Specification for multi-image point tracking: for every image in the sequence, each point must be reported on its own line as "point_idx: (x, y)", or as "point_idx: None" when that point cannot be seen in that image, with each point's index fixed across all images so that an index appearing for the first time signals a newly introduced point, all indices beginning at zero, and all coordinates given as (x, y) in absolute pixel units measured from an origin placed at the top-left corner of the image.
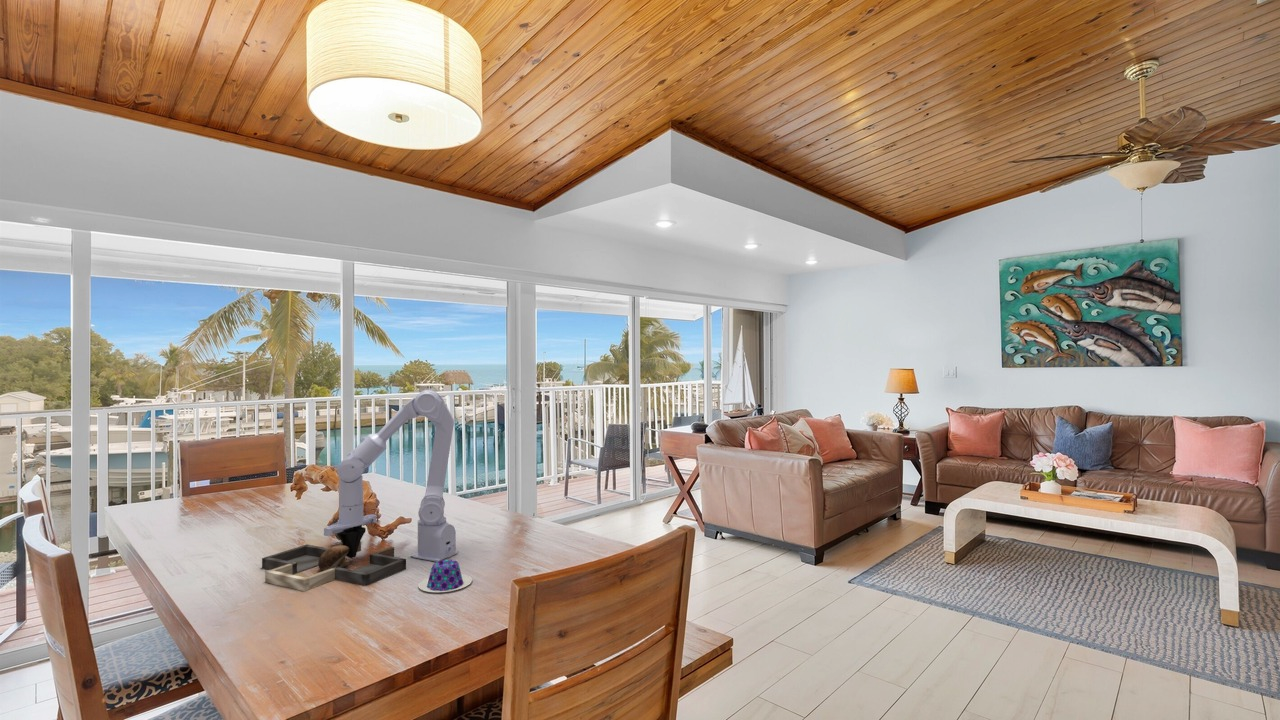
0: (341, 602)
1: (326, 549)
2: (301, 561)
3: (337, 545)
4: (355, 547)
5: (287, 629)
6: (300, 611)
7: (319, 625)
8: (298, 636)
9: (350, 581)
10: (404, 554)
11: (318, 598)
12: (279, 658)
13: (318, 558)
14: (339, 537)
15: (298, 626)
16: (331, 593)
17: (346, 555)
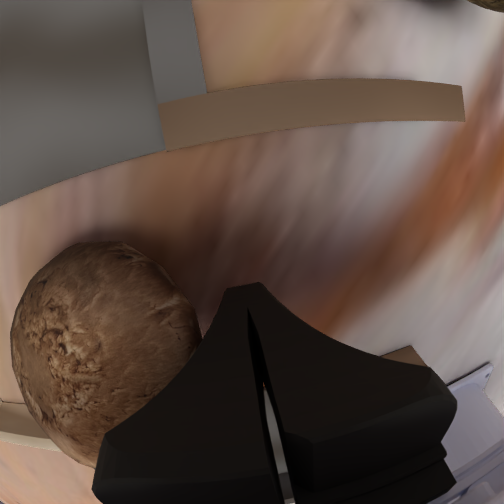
0: (82, 493)
1: (160, 51)
2: (43, 23)
3: (96, 450)
4: (268, 395)
5: (7, 479)
6: (13, 465)
7: (47, 500)
8: (24, 495)
9: None
10: (439, 358)
11: (39, 460)
12: (14, 499)
13: (135, 31)
14: (149, 405)
15: (19, 485)
16: (66, 465)
17: (224, 294)
